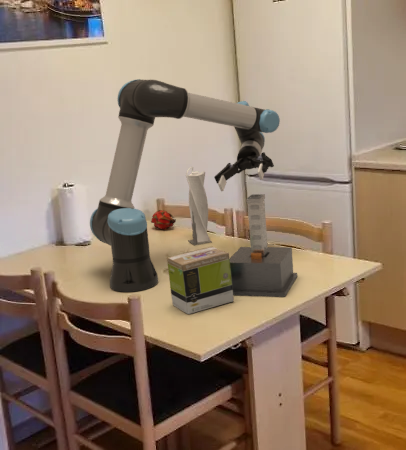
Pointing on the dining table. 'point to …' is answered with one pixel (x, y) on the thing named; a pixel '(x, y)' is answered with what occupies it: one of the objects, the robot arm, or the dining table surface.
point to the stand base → (262, 272)
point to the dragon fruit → (162, 219)
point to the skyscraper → (198, 207)
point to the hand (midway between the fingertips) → (240, 181)
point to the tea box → (200, 279)
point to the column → (257, 224)
